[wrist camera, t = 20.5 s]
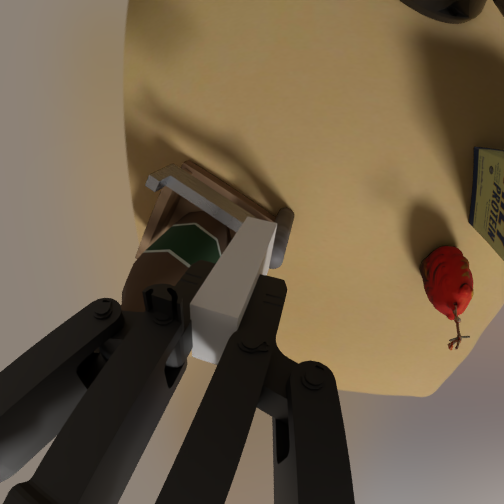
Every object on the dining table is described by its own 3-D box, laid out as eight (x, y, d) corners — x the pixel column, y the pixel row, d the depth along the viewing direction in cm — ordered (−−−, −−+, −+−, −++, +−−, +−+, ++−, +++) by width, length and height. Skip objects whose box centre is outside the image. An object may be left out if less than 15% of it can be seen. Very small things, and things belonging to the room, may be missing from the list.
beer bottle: (177, 250, 38) (69, 382, 18) (182, 200, 34) (39, 327, 13) (229, 267, 37) (143, 426, 17) (240, 217, 33) (128, 385, 13)
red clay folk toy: (451, 286, 32) (486, 364, 19) (411, 287, 34) (438, 371, 21) (464, 240, 28) (515, 312, 16) (422, 238, 30) (465, 317, 17)
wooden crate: (195, 146, 31) (148, 165, 22) (297, 214, 33) (287, 258, 24) (152, 238, 40) (112, 276, 31) (234, 293, 41) (210, 343, 32)
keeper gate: (168, 173, 27) (145, 185, 23) (173, 163, 26) (149, 174, 22) (260, 233, 28) (249, 255, 24) (266, 224, 27) (257, 246, 23)
